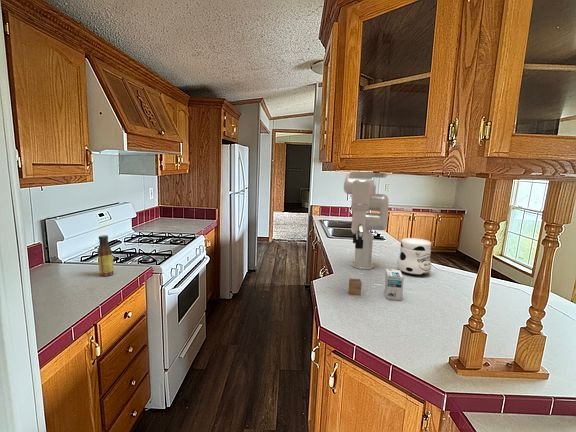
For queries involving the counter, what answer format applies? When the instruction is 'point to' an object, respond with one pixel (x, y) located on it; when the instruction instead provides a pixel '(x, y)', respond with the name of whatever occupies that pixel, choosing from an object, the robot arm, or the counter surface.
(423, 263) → the milk container
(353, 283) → the walnut block
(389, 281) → the light bulb box
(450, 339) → the counter surface
